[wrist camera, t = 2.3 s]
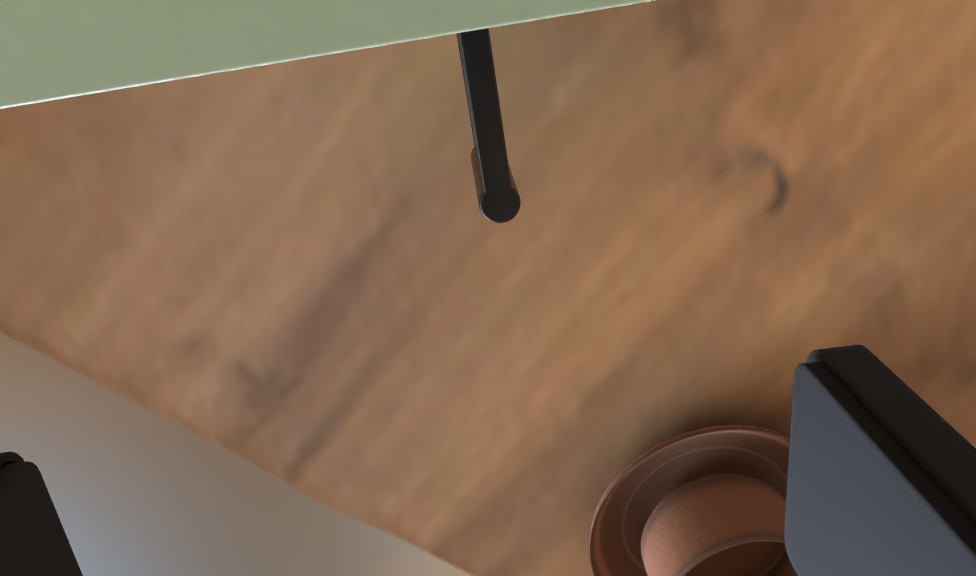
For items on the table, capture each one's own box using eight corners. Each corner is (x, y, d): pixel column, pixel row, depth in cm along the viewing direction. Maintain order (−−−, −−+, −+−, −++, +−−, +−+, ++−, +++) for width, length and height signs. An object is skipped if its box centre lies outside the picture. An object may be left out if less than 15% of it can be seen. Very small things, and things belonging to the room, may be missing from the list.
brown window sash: (535, -64, 26) (579, -66, 18) (561, 153, 29) (607, 229, 21) (266, -19, 26) (197, -3, 18) (319, 192, 29) (278, 283, 21)
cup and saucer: (852, 548, 40) (921, 648, 34) (634, 634, 41) (665, 743, 36) (785, 365, 35) (852, 445, 30) (542, 469, 37) (562, 564, 31)
